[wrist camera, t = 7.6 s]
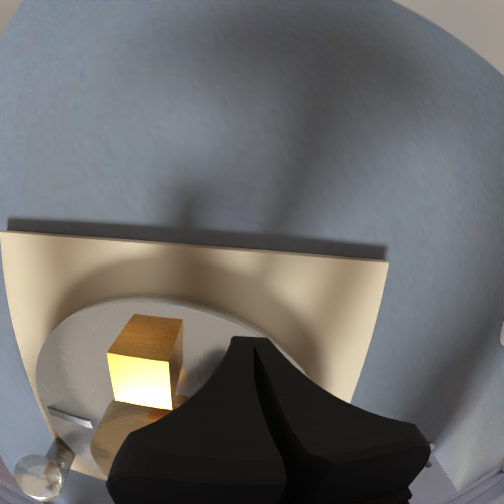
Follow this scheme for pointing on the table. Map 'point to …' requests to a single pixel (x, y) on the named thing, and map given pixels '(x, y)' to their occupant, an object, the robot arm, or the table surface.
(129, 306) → the turntable
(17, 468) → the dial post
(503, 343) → the chalice
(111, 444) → the cover
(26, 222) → the table surface
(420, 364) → the table surface
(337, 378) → the base board
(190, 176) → the table surface
